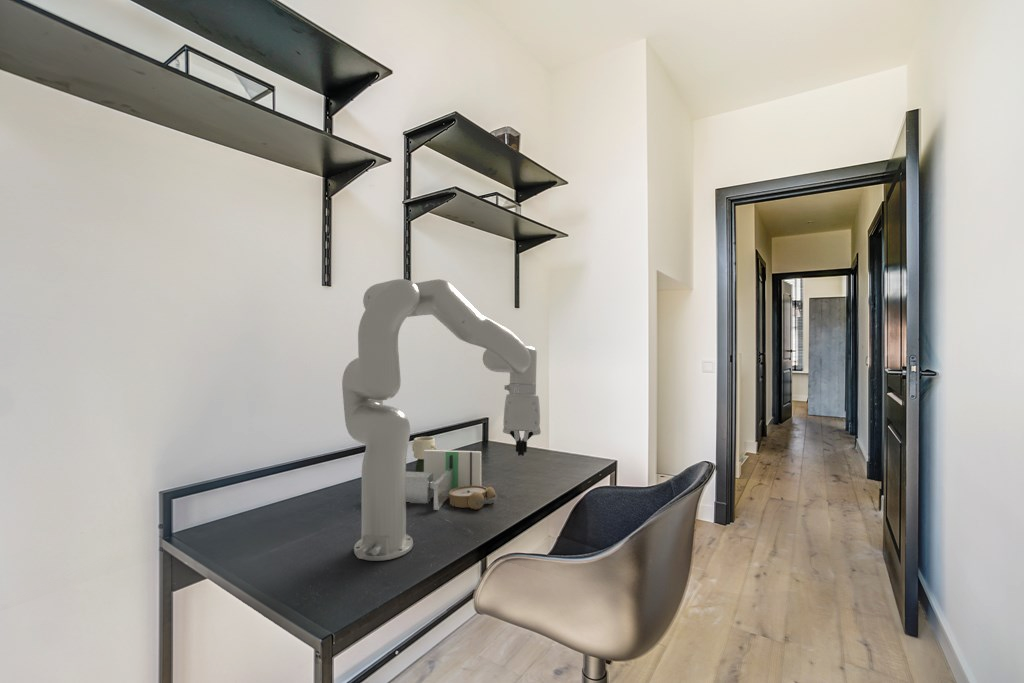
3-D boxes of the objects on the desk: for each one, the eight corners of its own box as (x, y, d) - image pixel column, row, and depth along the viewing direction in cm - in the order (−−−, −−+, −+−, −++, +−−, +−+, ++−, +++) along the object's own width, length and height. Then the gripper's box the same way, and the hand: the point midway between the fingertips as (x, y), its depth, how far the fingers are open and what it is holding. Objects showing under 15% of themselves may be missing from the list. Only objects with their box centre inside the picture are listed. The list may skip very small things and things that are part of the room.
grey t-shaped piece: (438, 510, 126) (438, 470, 126) (398, 508, 127) (398, 469, 127) (453, 489, 143) (453, 455, 143) (418, 488, 144) (418, 454, 144)
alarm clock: (466, 483, 141) (504, 483, 132) (468, 500, 141) (507, 501, 132) (440, 493, 132) (479, 494, 123) (442, 511, 132) (481, 513, 123)
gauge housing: (427, 503, 132) (427, 477, 132) (383, 501, 133) (383, 476, 133) (433, 497, 137) (433, 472, 137) (390, 495, 139) (390, 470, 139)
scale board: (480, 491, 142) (480, 452, 142) (423, 489, 144) (423, 450, 144) (481, 490, 144) (481, 451, 144) (425, 487, 146) (425, 449, 146)
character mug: (443, 476, 158) (443, 438, 158) (428, 481, 152) (428, 442, 152) (420, 471, 164) (420, 435, 164) (405, 476, 158) (405, 438, 158)
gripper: (494, 390, 128) (493, 456, 128) (548, 391, 127) (547, 459, 126) (498, 388, 136) (497, 450, 135) (549, 389, 134) (548, 453, 134)
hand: (521, 454), depth 131 cm, fingers closed
